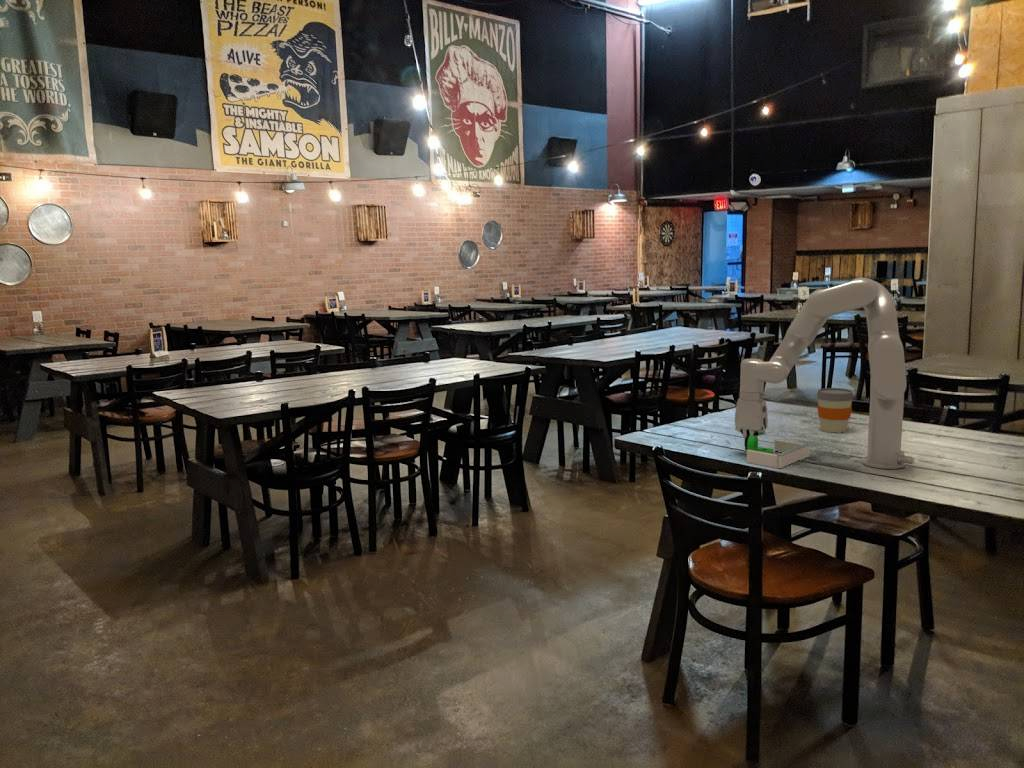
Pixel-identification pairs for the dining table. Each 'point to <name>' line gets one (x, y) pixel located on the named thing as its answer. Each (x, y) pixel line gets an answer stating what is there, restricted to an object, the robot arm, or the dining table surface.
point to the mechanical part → (756, 445)
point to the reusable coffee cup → (834, 408)
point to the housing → (789, 455)
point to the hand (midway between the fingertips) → (749, 449)
